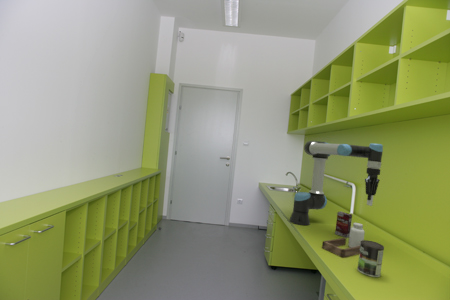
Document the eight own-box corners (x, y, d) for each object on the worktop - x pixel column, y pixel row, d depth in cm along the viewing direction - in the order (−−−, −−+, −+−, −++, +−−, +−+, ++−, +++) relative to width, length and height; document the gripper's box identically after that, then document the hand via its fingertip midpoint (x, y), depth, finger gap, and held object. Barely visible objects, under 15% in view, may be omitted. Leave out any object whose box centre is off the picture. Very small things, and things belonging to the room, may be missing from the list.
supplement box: (334, 234, 190) (337, 211, 189) (338, 233, 193) (340, 211, 192) (346, 238, 183) (349, 215, 183) (350, 237, 186) (352, 214, 186)
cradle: (321, 247, 160) (322, 241, 160) (343, 243, 171) (343, 237, 171) (343, 257, 148) (343, 250, 148) (364, 252, 159) (365, 246, 159)
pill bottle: (354, 250, 161) (357, 225, 160) (345, 245, 169) (348, 221, 168) (365, 250, 163) (368, 226, 163) (355, 245, 171) (358, 221, 170)
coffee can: (365, 276, 128) (368, 247, 127) (353, 266, 138) (356, 239, 137) (385, 278, 128) (389, 249, 128) (372, 267, 139) (375, 240, 138)
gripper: (373, 168, 163) (369, 207, 164) (385, 169, 170) (381, 206, 171) (362, 167, 169) (357, 204, 170) (373, 167, 176) (369, 203, 177)
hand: (369, 205), depth 170 cm, fingers closed
